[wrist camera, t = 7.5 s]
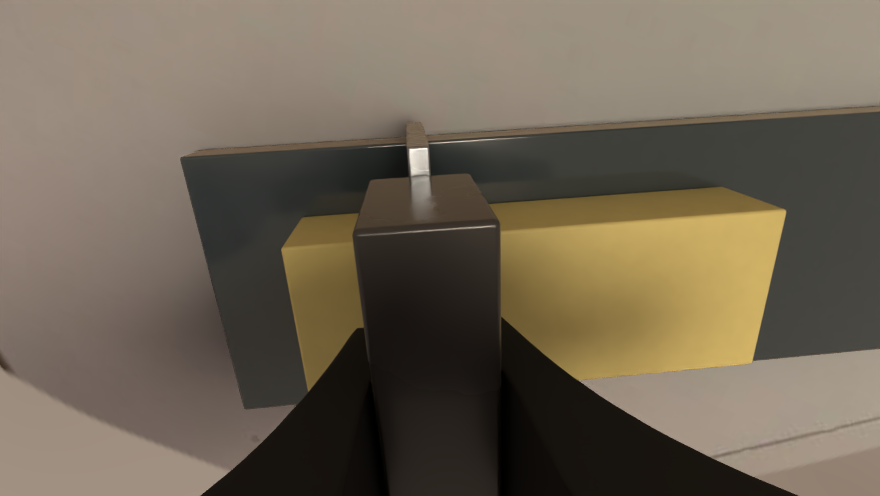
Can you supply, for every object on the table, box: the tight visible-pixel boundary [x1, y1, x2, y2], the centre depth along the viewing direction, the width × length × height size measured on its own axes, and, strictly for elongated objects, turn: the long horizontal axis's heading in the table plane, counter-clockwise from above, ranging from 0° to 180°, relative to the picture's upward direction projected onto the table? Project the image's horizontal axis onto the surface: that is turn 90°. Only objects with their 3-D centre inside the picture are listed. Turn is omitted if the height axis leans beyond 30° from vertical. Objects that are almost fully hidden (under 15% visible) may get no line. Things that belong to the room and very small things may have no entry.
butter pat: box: [281, 213, 364, 392], centre depth 12 cm, size 3×4×2 cm
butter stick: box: [489, 187, 786, 380], centre depth 13 cm, size 7×4×2 cm, turn 93°
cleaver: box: [352, 122, 502, 496], centre depth 10 cm, size 2×9×7 cm, turn 3°
